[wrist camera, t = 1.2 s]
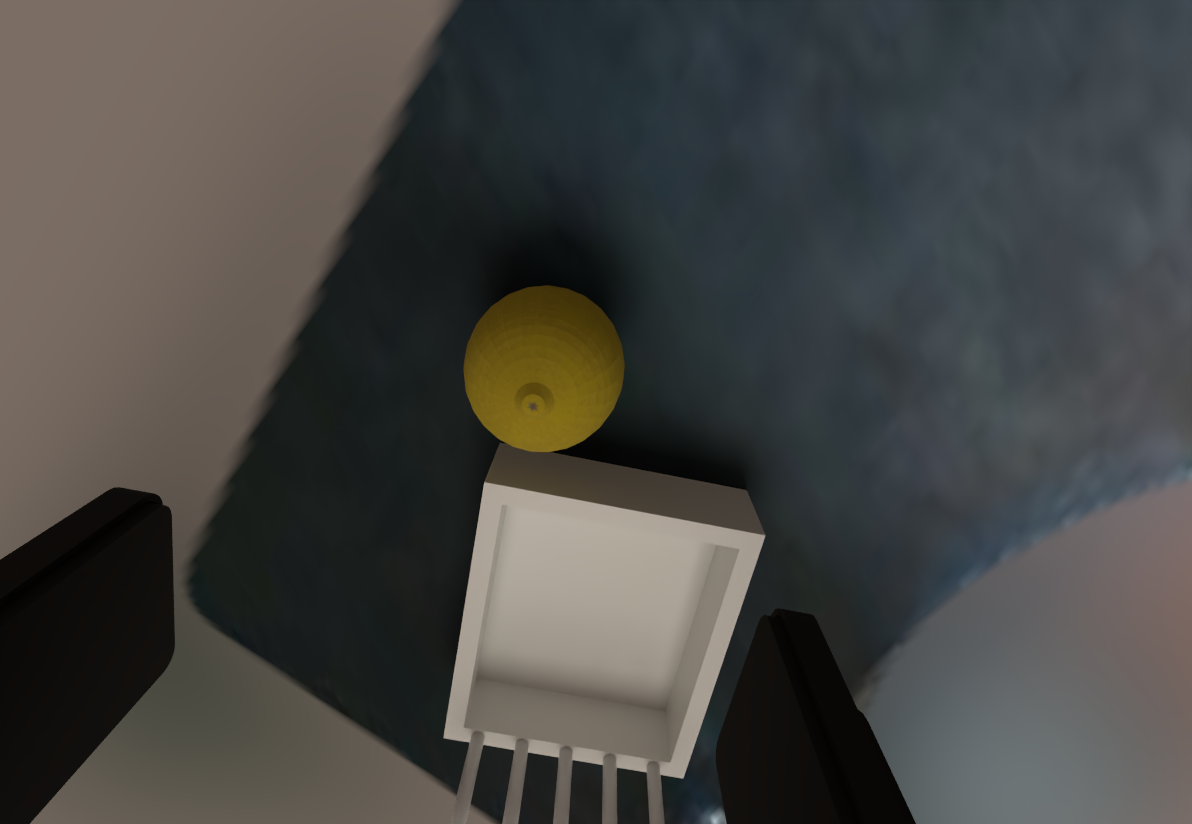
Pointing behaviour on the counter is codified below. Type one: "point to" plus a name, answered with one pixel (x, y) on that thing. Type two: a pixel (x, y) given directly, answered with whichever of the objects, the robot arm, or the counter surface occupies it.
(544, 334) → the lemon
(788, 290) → the counter surface
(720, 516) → the rack
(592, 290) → the counter surface
